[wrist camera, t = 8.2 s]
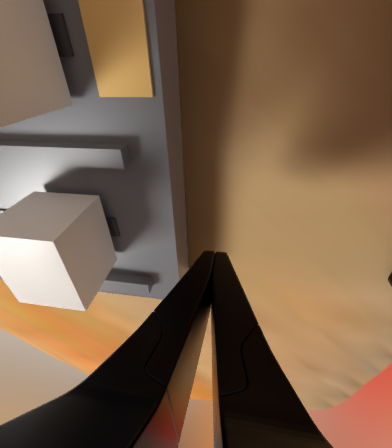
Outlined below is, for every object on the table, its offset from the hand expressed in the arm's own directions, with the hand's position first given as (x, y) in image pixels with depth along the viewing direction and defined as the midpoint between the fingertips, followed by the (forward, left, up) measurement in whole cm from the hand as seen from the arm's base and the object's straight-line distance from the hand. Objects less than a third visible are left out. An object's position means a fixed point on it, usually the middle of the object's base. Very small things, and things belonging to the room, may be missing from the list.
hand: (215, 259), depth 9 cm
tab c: (+7, 0, -1) cm, 7 cm away
